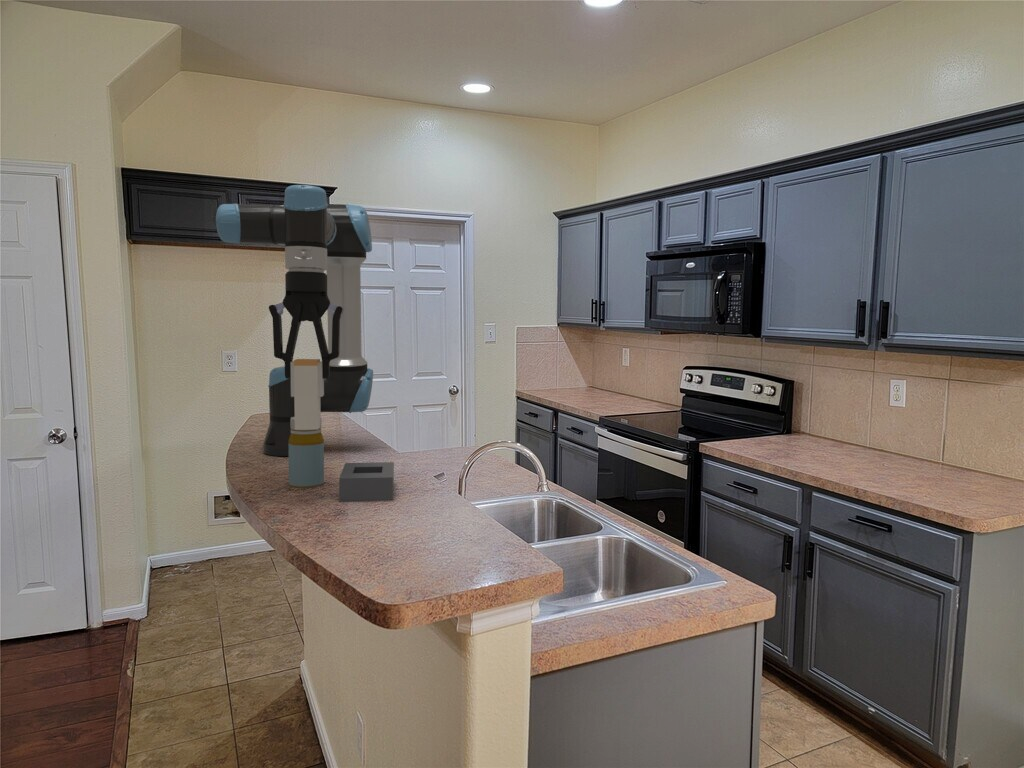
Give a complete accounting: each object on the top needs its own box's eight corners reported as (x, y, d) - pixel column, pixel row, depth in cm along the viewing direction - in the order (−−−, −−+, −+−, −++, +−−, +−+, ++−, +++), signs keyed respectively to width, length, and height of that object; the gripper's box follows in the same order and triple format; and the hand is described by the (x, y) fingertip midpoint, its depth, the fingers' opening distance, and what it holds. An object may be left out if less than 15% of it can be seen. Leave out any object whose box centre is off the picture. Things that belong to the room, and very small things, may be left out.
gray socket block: (345, 488, 141) (345, 462, 141) (393, 487, 143) (393, 462, 143) (339, 506, 128) (339, 478, 127) (392, 505, 129) (392, 477, 129)
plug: (298, 426, 130) (297, 358, 129) (320, 426, 131) (320, 359, 129) (294, 429, 126) (293, 360, 125) (317, 429, 126) (317, 360, 125)
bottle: (313, 493, 137) (313, 420, 136) (282, 491, 138) (281, 419, 137) (329, 485, 144) (329, 416, 142) (299, 483, 145) (299, 414, 144)
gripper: (253, 268, 120) (255, 398, 123) (352, 271, 123) (352, 398, 125) (262, 271, 128) (263, 393, 130) (355, 274, 131) (355, 393, 133)
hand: (307, 395), depth 128 cm, fingers closed on plug, 4 cm apart
